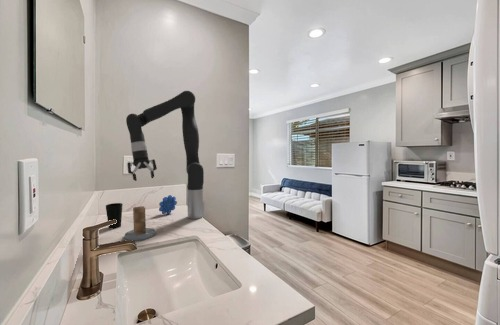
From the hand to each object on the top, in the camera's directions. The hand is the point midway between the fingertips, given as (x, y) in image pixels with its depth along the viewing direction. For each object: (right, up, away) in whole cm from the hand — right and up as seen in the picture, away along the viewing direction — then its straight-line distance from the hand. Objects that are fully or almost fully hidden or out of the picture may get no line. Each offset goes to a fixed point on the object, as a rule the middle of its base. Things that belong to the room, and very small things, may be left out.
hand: (144, 179), depth 124 cm
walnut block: (+6, -24, -17) cm, 30 cm away
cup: (-13, -25, -5) cm, 29 cm away
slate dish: (+6, -26, -17) cm, 31 cm away
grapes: (+6, -24, +20) cm, 32 cm away
